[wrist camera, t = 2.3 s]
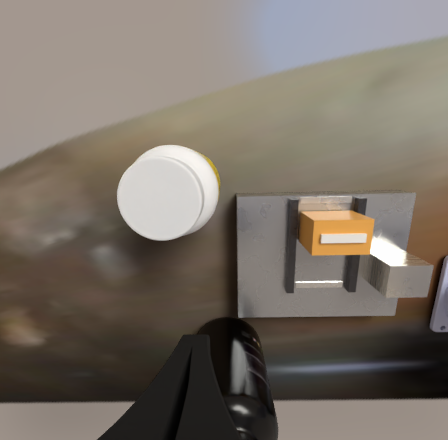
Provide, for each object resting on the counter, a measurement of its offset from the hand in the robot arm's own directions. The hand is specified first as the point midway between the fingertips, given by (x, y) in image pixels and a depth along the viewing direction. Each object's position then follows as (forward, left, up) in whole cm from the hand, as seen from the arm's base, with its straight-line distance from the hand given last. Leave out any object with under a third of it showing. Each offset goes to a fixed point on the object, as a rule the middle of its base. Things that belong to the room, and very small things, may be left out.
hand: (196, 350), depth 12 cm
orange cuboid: (-10, -4, -8) cm, 13 cm away
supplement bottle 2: (-2, +9, -11) cm, 14 cm away
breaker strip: (-10, -1, -10) cm, 14 cm away
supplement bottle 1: (+1, -8, -11) cm, 13 cm away
